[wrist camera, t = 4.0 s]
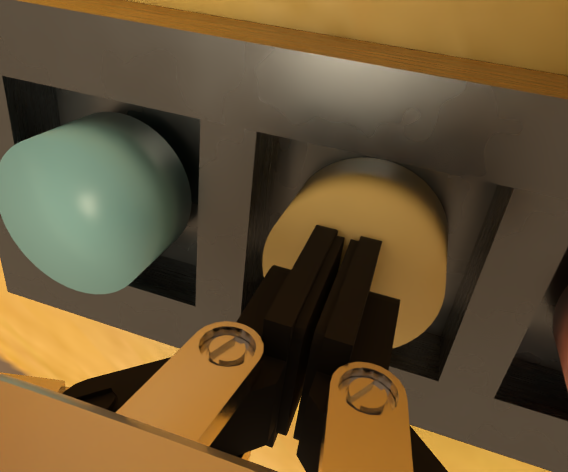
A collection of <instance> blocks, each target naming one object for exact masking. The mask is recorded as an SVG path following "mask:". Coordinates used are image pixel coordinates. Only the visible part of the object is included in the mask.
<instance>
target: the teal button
mask: <svg viewBox="0 0 568 472" xmlns="http://www.w3.org/2000/svg"><path fill="white" fill-rule="evenodd" d="M191 204H192V201H191V190H190V185H189V181H188V178H187V175H186V172H185V170H184V168H183V165H182V163H181V162H180V160H179V158H178V156H177V155H176V153H175V152H174V151H173V149H172V148H171V146H170V145H169V144H168V143H167V142H166V141H165V140H164V138H162V137H161V136H160V135H159V134H158V133H157V132H156V131H155V130H153V129H152V128H151V127H149V126H148V125H146V124H145V123H143V122H141V121H140V120H138V119H136V118H133V117H131V116H128V115H125V114H122V113H116V112H97V113H93V114H90V115H87V116H85V117H82V118H79V119H77V120H74V121H72V122H69V123H67V124H64V125H62V126H59V127H56V128H54V129H51V130H49V131H46V132H44V133H41V134H39V135H36V136H34V137H31V138H28V139H26V140H23V141H21V142H19V143H17V144H15V145H14V146H12V147H11V148H10V149H9V150H8V151H7V152H6V153H5V155H4V156H3V157H2V159H1V161H0V214H1V217H2V219H3V222H4V224H5V226H6V228H7V230H8V232H9V233H10V235H11V237H12V238H13V240H14V242H15V243H16V244H17V246H18V247H19V249H20V250H21V251H22V252H23V253H24V255H25V256H26V257H27V258H28V259H29V260H30V261H31V262H32V263H33V264H34V265H35V266H36V267H37V268H39V269H40V270H41V271H42V272H43V273H45V274H46V275H47V276H49V277H50V278H52V279H53V280H55V281H57V282H58V283H60V284H62V285H64V286H66V287H68V288H71V289H74V290H76V291H80V292H84V293H89V294H109V293H113V292H116V291H119V290H121V289H123V288H125V287H126V286H127V285H129V284H130V283H131V282H132V281H133V280H134V279H135V278H136V277H138V276H139V275H140V274H141V273H142V272H143V271H144V270H145V269H146V268H147V267H148V266H149V265H150V264H151V263H152V262H153V261H154V260H155V259H156V258H158V257H159V256H160V255H161V254H162V253H163V252H164V251H165V250H166V249H167V248H168V247H169V246H170V245H171V244H172V243H173V242H174V241H175V240H176V239H177V238H178V237H179V236H180V235H181V234H182V233H183V231H184V229H185V228H186V226H187V223H188V221H189V217H190V213H191Z"/></svg>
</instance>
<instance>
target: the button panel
mask: <svg viewBox="0 0 568 472" xmlns="http://www.w3.org/2000/svg"><path fill="white" fill-rule="evenodd" d="M97 112H116V113H122V114H125V115H128V116H131V117H133V118H136V119H138V120H140V121H141V122H143V123H145V124H146V125H148V126H149V127H151V128H152V129H153V130H155V131H156V132H157V133H158V134H159V135H160V136H161V137H162V138H164V140H165V141H166V142H167V143H168V144H169V145H170V146H171V148H172V149H173V151H174V152H175V153H176V155H177V156H178V158H179V160H180V162H181V163H182V165H183V168H184V170H185V172H186V175H187V178H188V181H189V185H190V190H191V201H192V204H191V213H190V217H189V221H188V223H187V226H186V228H185V229H184V231H183V233H182V234H181V235H180V236H179V237H178V238H177V239H176V240H175V241H174V242H173V243H172V244H171V245H170V246H169V247H168V248H167V249H166V250H165V251H164V252H163V253H162V254H161V255H160V256H159V257H158V258H156V259H155V260H154V261H153V262H152V263H151V264H150V265H149V266H148V267H147V268H146V269H145V270H144V271H143V272H142V273H141V274H140V275H139V276H138V277H136V278H135V279H134V280H133V281H132V282H131V283H130V284H129V285H127V286H126V287H125V288H123V289H121V290H119V291H116V292H113V293H109V294H89V293H84V292H80V291H76V290H74V289H71V288H68V287H66V286H64V285H62V284H60V283H58V282H57V281H55V280H53V279H52V278H50V277H49V276H47V275H46V274H45V273H43V272H42V271H41V270H40V269H39V268H37V267H36V266H35V265H34V264H33V263H32V262H31V261H30V260H29V259H28V258H27V257H26V256H25V255H24V253H23V252H22V251H21V250H20V249H19V247H18V246H17V244H16V243H15V242H14V240H13V238H12V237H11V235H10V233H9V232H8V230H7V228H6V226H5V224H4V222H3V219H2V217H1V214H0V258H1V263H2V267H3V272H4V276H5V281H6V286H7V290H8V292H10V293H13V294H16V295H19V296H22V297H25V298H28V299H31V300H34V301H37V302H40V303H43V304H47V305H50V306H53V307H56V308H59V309H62V310H65V311H68V312H71V313H74V314H77V315H80V316H83V317H86V318H89V319H92V320H95V321H98V322H101V323H104V324H107V325H110V326H113V327H116V328H119V329H122V330H125V331H128V332H131V333H134V334H137V335H140V336H143V337H146V338H149V339H152V340H156V341H159V342H162V343H165V344H168V345H171V346H174V347H177V348H181V347H182V346H183V345H184V344H185V343H186V342H187V341H188V340H189V339H190V338H191V337H193V336H194V335H195V334H196V333H197V332H198V331H199V330H200V329H202V328H203V327H205V326H207V325H210V324H212V323H216V322H224V321H228V322H237V320H238V318H239V317H240V315H241V314H242V312H243V311H244V309H245V307H246V306H247V304H248V303H249V301H250V299H251V298H252V296H253V295H254V293H255V291H256V290H257V288H258V287H259V285H260V284H261V282H262V280H263V279H264V276H263V267H262V260H263V251H264V246H265V243H266V240H267V237H268V235H269V234H270V232H271V230H272V228H273V227H274V225H275V224H276V223H277V221H278V220H279V218H280V217H281V216H282V214H283V213H284V212H285V210H286V209H287V207H288V206H289V205H290V203H291V202H292V201H293V199H294V198H295V196H296V195H297V194H298V192H299V191H300V190H301V188H302V187H303V186H304V184H305V183H306V182H307V181H308V180H309V179H310V178H311V177H312V176H313V175H314V174H315V173H317V172H318V171H319V170H321V169H323V168H324V167H326V166H328V165H330V164H333V163H335V162H338V161H341V160H346V159H350V158H360V157H362V158H376V159H383V160H386V161H390V162H393V163H396V164H398V165H400V166H403V167H405V168H407V169H408V170H410V171H412V172H413V173H415V174H416V175H417V176H419V177H420V178H421V179H423V180H424V181H425V182H426V183H427V184H428V185H429V186H430V187H431V189H432V190H433V191H434V193H435V194H436V195H437V197H438V199H439V201H440V202H441V204H442V206H443V209H444V212H445V214H446V219H447V223H448V250H447V271H446V288H445V296H444V300H443V304H442V306H441V309H440V311H439V313H438V315H437V317H436V318H435V320H434V321H433V323H432V324H431V325H430V326H429V327H428V328H427V329H426V330H425V331H424V332H423V333H422V334H420V335H419V336H418V337H417V338H415V339H413V340H412V341H410V342H408V343H406V344H404V345H401V346H399V347H396V348H392V353H391V359H390V365H389V371H390V372H391V373H392V374H393V375H394V376H395V377H397V378H398V379H399V381H400V382H401V384H402V385H403V387H404V388H405V391H406V395H407V400H408V412H409V424H410V425H413V426H416V427H419V428H422V429H425V430H428V431H431V432H434V433H437V434H440V435H443V436H446V437H449V438H452V439H455V440H458V441H461V442H464V443H467V444H470V445H473V446H476V447H479V448H483V449H486V450H489V451H492V452H495V453H498V454H501V455H504V456H507V457H510V458H513V459H516V460H519V461H522V462H525V463H528V464H531V465H534V466H537V467H540V468H543V469H546V470H549V471H552V472H568V390H567V386H566V382H565V378H564V374H563V370H562V366H561V362H560V358H559V355H558V351H557V347H556V343H555V339H554V334H553V327H552V326H553V314H554V310H555V307H556V304H557V302H558V299H559V297H560V296H561V294H562V293H563V291H564V289H565V288H566V287H567V286H568V76H565V75H559V74H553V73H548V72H542V71H536V70H530V69H524V68H518V67H512V66H506V65H501V64H495V63H489V62H483V61H477V60H471V59H465V58H459V57H453V56H448V55H442V54H436V53H430V52H424V51H418V50H412V49H406V48H401V47H395V46H389V45H383V44H377V43H371V42H365V41H359V40H354V39H348V38H342V37H336V36H330V35H324V34H318V33H312V32H307V31H301V30H295V29H289V28H283V27H277V26H271V25H265V24H260V23H254V22H248V21H242V20H236V19H230V18H224V17H218V16H213V15H207V14H201V13H195V12H189V11H183V10H177V9H171V8H166V7H160V6H154V5H148V4H142V3H136V2H130V1H124V0H0V161H1V159H2V157H3V156H4V155H5V153H6V152H7V151H8V150H9V149H10V148H11V147H12V146H14V145H15V144H17V143H19V142H21V141H23V140H26V139H28V138H31V137H34V136H36V135H39V134H41V133H44V132H46V131H49V130H51V129H54V128H56V127H59V126H62V125H64V124H67V123H69V122H72V121H74V120H77V119H79V118H82V117H85V116H87V115H90V114H93V113H97Z"/></svg>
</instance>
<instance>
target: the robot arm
mask: <svg viewBox="0 0 568 472" xmlns="http://www.w3.org/2000/svg"><path fill="white" fill-rule="evenodd" d="M337 235H338V230H336V229H332V228H328V227H324V226H320V225H316V226H315V228H314V230H313V232H312V233H311V235H310V237H309V239H308V241H307V242H306V244H305V246H304V248H303V250H302V251H301V253H300V255H299V257H298V259H297V260H296V262H295V264H294V266H293V268H292V269H287V268H283V267H280V266H276V265H273V266H272V267H271V268H270V269H269V271H268V272H267V274H266V276H265V277H264V279H263V280H262V282H261V284H260V285H259V287H258V288H257V290H256V291H255V293H254V295H253V296H252V298H251V299H250V301H249V303H248V304H247V306H246V307H245V309H244V311H243V312H242V314H241V315H240V317H239V318H238V320H237V322H228V321H224V322H216V323H212V324H210V325H207V326H205V327H203V328H202V329H200V330H199V331H198V332H197V333H196V334H195V335H194V336H193V337H191V338H190V339H189V340H188V341H187V342H186V343H185V344H184V345H183V346H182V347H181V348H180V349H179V350H178V351H177V352H176V353H175V354H174V355H173V356H172V357H170V358H166V359H162V360H159V361H155V362H151V363H147V364H144V365H140V366H136V367H132V368H128V369H125V370H121V371H117V372H113V373H109V374H106V375H102V376H98V377H94V378H90V379H87V380H84V381H82V382H79V383H76V384H75V385H73V386H72V387H65V381H63V380H55V379H47V378H39V377H32V376H24V375H16V374H8V373H0V472H277V471H274V470H272V469H269V468H266V467H264V466H261V465H258V464H255V463H253V462H250V461H248V460H249V457H250V453H251V450H254V449H257V448H259V447H262V446H265V445H266V446H269V447H273V445H274V442H275V440H276V437H277V434H278V433H280V434H282V435H285V436H286V435H287V433H288V431H289V428H290V425H291V422H292V420H293V417H294V414H295V411H296V409H297V406H298V403H299V401H300V405H299V411H298V416H297V421H296V426H295V431H294V437H293V438H294V439H297V440H299V445H298V449H297V454H296V455H297V457H298V458H299V460H300V462H301V464H302V465H303V467H304V469H305V471H306V472H448V471H447V470H446V469H445V467H444V466H443V465H442V464H441V463H440V461H439V460H438V459H437V458H436V457H435V455H434V454H433V453H432V452H431V451H430V449H429V448H428V447H427V446H426V445H425V443H424V442H423V441H422V440H421V439H420V437H419V436H418V435H417V434H416V432H415V431H414V430H413V429H412V428H411V426H410V425H409V412H408V400H407V395H406V391H405V388H404V387H403V385H402V384H401V382H400V381H399V379H398V378H397V377H395V376H394V375H393V374H392V373H391V372H390V371H389V365H390V359H391V353H392V347H393V342H394V336H395V330H396V324H397V318H398V313H399V307H400V299H396V298H393V297H389V296H385V295H382V294H378V293H374V292H371V291H370V288H371V284H372V280H373V276H374V272H375V268H376V264H377V260H378V256H379V252H380V249H381V245H382V241H380V240H376V239H372V238H368V237H364V236H361V237H360V239H359V241H356V240H353V239H351V240H350V243H349V245H348V248H347V250H346V253H345V255H344V258H343V260H342V263H341V265H340V268H339V264H340V259H341V255H342V250H343V245H344V240H345V237H341V236H337ZM338 269H339V271H338ZM300 398H301V400H300Z"/></svg>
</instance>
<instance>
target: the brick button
mask: <svg viewBox="0 0 568 472" xmlns="http://www.w3.org/2000/svg"><path fill="white" fill-rule="evenodd" d="M552 327H553V334H554V339H555V343H556V347H557V351H558V355H559V358H560V362H561V366H562V370H563V374H564V378H565V382H566V386H567V390H568V286H567V287H566V288H565V289H564V291H563V293H562V294H561V296H560V297H559V299H558V302H557V304H556V307H555V310H554V314H553V326H552Z"/></svg>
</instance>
